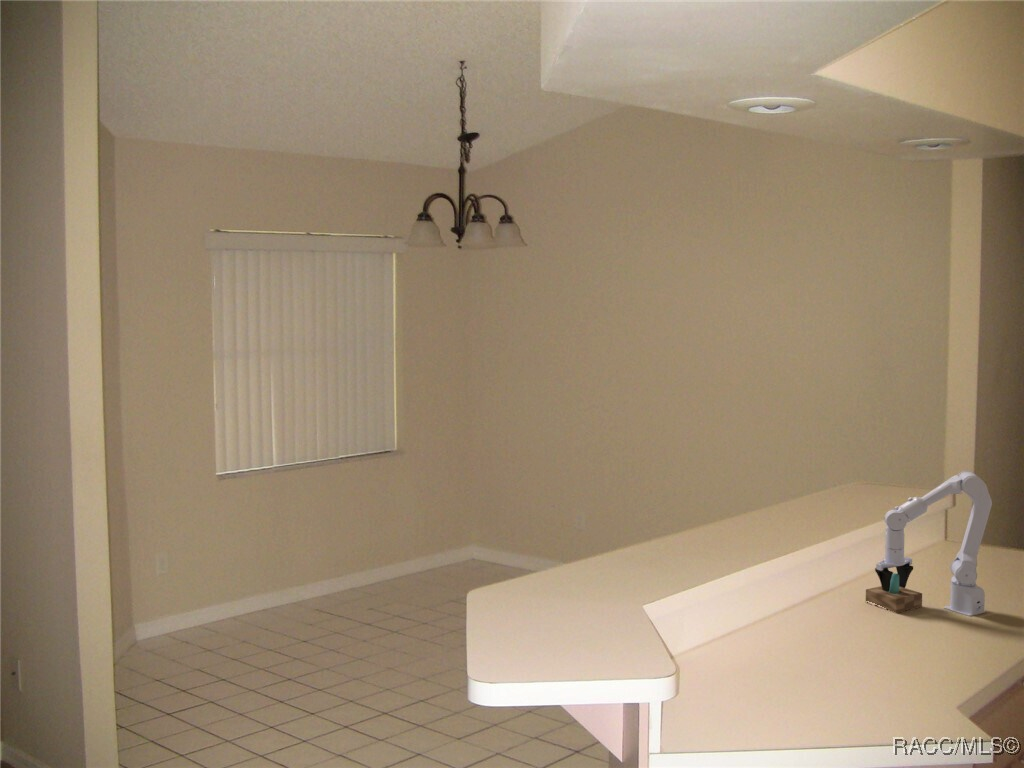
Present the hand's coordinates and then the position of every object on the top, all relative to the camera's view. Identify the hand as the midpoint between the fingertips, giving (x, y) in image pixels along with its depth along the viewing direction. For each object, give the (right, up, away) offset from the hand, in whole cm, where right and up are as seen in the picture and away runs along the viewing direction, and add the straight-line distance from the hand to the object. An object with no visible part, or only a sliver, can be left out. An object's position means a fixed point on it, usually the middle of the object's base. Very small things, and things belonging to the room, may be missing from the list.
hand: (893, 588), depth 304 cm
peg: (0, -4, 0) cm, 4 cm away
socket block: (0, -5, 0) cm, 5 cm away
